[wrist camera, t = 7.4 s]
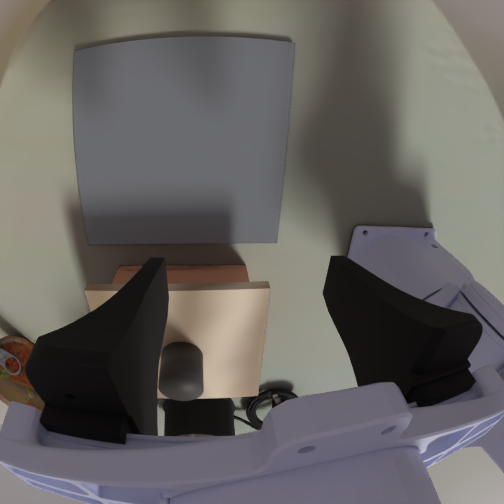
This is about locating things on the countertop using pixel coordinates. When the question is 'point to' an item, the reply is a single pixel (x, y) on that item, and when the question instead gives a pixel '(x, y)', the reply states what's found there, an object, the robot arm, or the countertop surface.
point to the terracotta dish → (191, 274)
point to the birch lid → (207, 338)
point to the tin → (16, 372)
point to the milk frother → (215, 414)
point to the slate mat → (182, 139)
